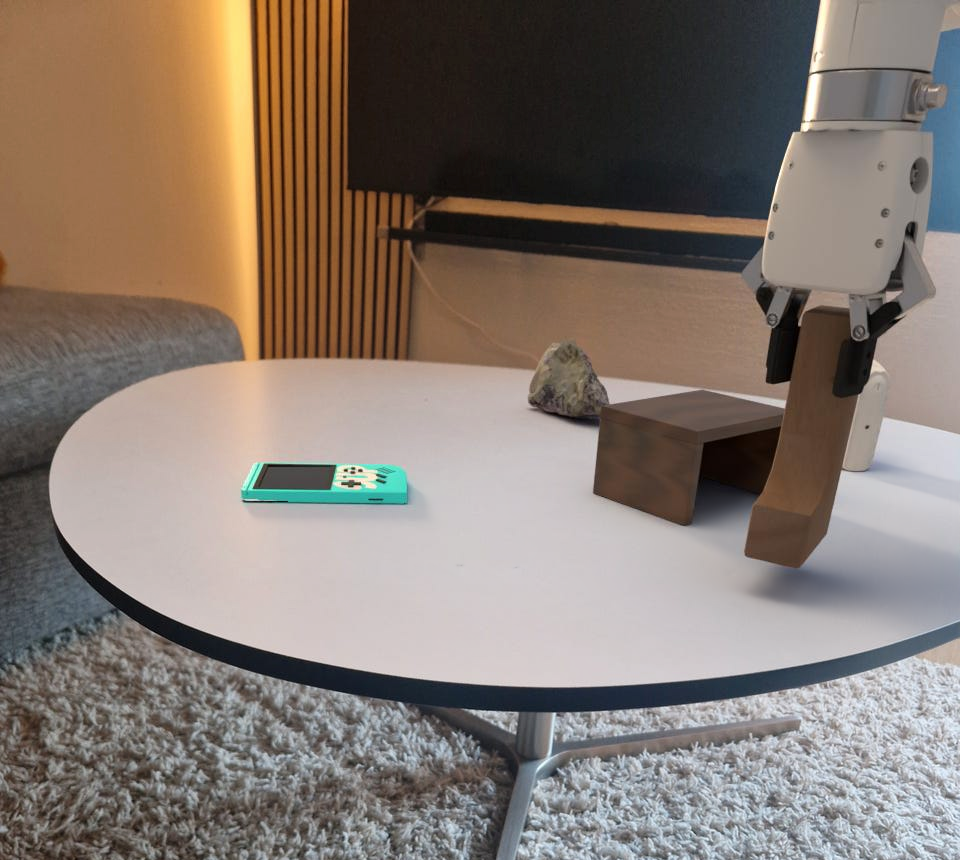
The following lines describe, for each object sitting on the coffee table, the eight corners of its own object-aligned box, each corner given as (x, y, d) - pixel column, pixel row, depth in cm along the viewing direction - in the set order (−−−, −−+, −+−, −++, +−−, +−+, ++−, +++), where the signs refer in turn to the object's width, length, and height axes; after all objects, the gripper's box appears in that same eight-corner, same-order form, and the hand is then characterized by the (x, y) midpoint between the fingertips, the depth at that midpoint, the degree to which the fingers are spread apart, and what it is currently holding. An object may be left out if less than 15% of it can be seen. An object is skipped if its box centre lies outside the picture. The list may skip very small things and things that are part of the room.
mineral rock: (613, 429, 121) (621, 350, 116) (530, 426, 120) (536, 347, 116) (601, 407, 132) (608, 334, 128) (525, 404, 132) (530, 331, 127)
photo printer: (876, 471, 108) (902, 362, 102) (842, 472, 107) (866, 362, 101) (831, 448, 117) (852, 346, 111) (799, 448, 116) (819, 346, 110)
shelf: (781, 497, 97) (797, 411, 93) (683, 525, 88) (697, 431, 84) (690, 469, 105) (702, 389, 101) (592, 493, 96) (601, 405, 92)
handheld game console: (407, 504, 90) (407, 491, 89) (239, 502, 89) (238, 489, 88) (406, 474, 99) (406, 462, 98) (254, 472, 98) (253, 460, 97)
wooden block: (799, 571, 70) (853, 324, 62) (741, 557, 72) (786, 316, 64) (826, 537, 77) (878, 310, 69) (773, 525, 79) (817, 304, 71)
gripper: (1022, 107, 57) (948, 403, 66) (784, 114, 69) (747, 365, 77) (965, 99, 53) (894, 417, 61) (722, 109, 65) (690, 375, 73)
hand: (813, 385), depth 69 cm, fingers closed on wooden block, 4 cm apart
